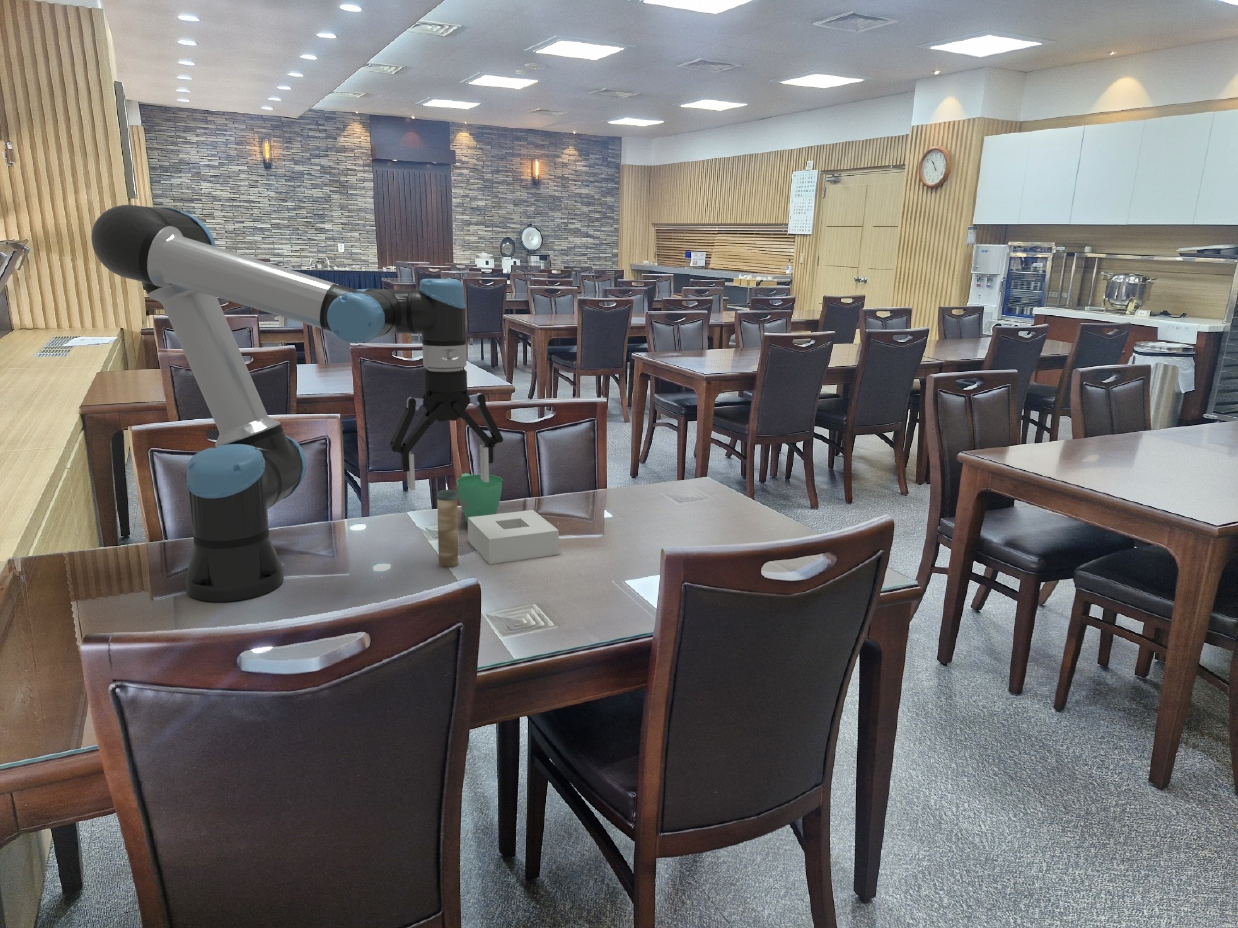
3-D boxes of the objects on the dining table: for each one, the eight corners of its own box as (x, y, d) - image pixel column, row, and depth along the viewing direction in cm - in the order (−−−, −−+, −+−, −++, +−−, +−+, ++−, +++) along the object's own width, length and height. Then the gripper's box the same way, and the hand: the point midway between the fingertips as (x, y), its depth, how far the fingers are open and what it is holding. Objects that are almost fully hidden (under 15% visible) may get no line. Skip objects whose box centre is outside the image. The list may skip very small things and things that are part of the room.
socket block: (489, 564, 153) (489, 539, 151) (467, 540, 165) (467, 517, 163) (558, 554, 159) (558, 530, 158) (532, 532, 171) (532, 509, 170)
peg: (441, 568, 150) (439, 496, 146) (436, 562, 153) (434, 490, 149) (460, 566, 151) (459, 494, 148) (455, 559, 155) (454, 488, 151)
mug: (510, 528, 173) (510, 483, 171) (467, 535, 168) (466, 489, 165) (483, 509, 185) (483, 467, 182) (442, 515, 180) (441, 472, 177)
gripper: (376, 374, 134) (383, 497, 140) (519, 368, 145) (520, 482, 151) (368, 368, 141) (375, 486, 146) (505, 363, 152) (507, 472, 157)
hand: (448, 484), depth 148 cm, fingers open, 13 cm apart
